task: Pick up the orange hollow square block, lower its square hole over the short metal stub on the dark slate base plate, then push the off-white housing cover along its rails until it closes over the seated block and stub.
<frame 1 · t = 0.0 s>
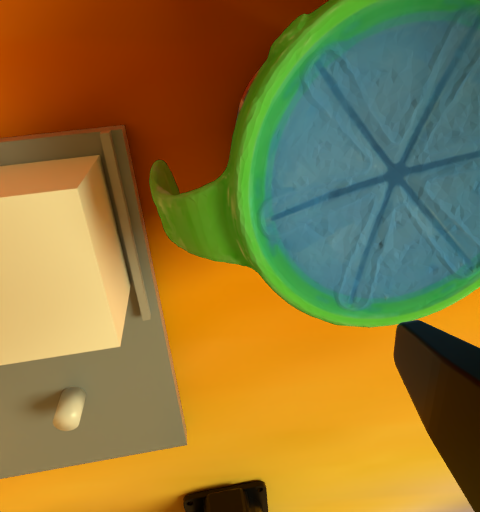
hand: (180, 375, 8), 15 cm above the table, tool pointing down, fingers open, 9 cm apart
base plate: (3, 331, 24), on the table
snack cup: (307, 124, 21), on the table
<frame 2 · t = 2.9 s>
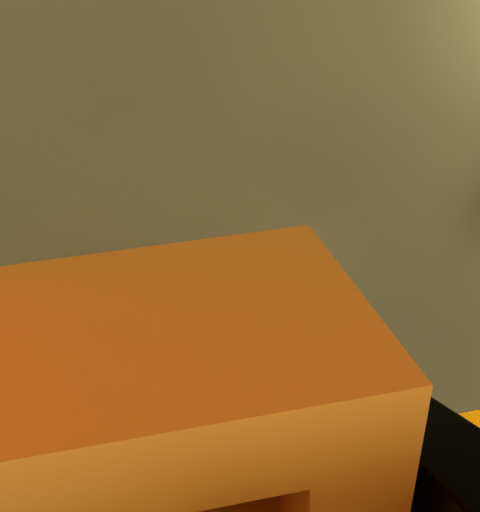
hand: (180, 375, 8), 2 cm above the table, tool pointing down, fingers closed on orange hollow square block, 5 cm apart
orange hollow square block: (180, 364, 8), point 1 cm above the table, touching base plate, gripper
when the fingers open (2 cm above the table, at t = 6.2 s): orange hollow square block stays where it is, resting on base plate.
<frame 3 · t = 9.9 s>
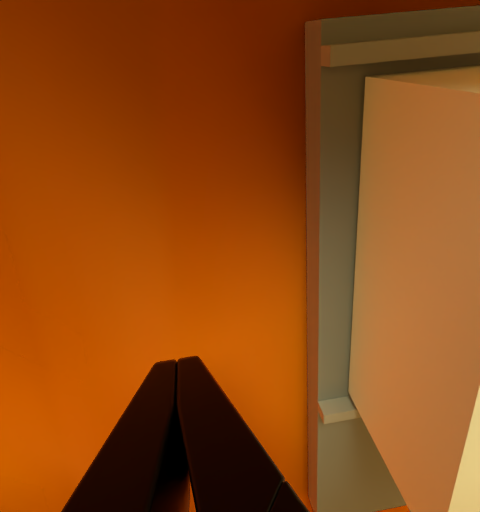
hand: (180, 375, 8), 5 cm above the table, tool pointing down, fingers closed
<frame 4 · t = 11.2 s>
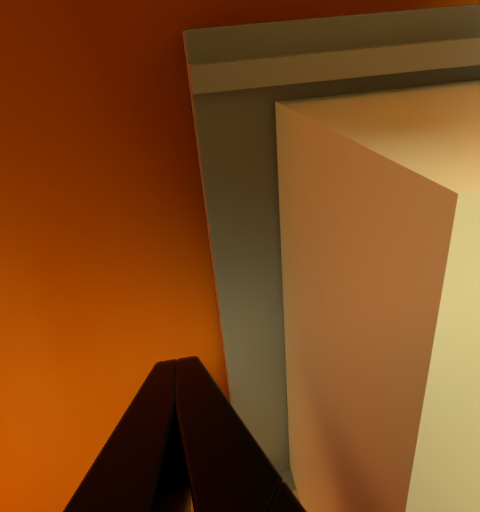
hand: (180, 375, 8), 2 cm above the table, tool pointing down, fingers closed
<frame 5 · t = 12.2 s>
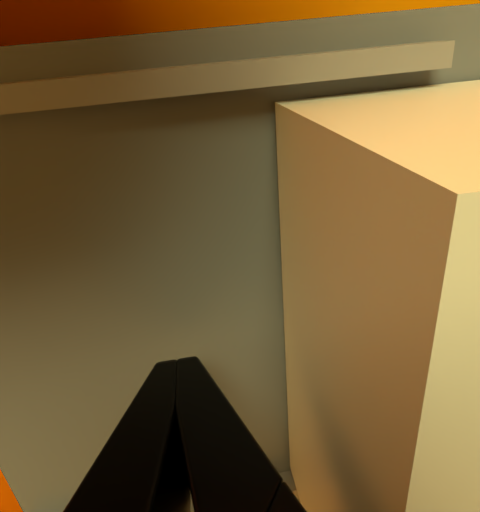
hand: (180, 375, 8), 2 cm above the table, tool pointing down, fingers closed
base plate: (388, 365, 12), on the table
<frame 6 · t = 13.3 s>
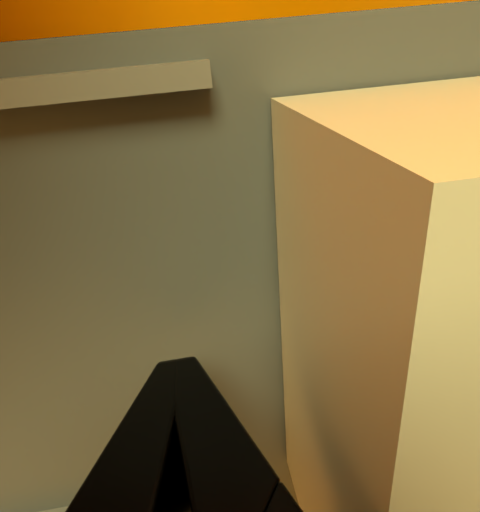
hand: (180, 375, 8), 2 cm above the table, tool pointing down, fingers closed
base plate: (256, 383, 12), on the table
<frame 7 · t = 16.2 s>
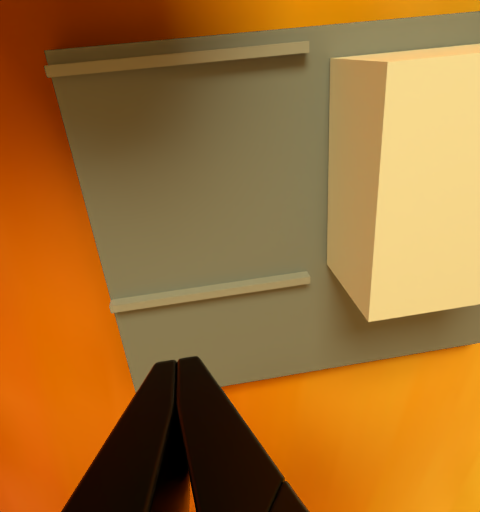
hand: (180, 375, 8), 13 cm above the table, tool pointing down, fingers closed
base plate: (309, 223, 22), on the table
housing cover: (430, 179, 17), point 4 cm above the table, slide at 10.0 cm
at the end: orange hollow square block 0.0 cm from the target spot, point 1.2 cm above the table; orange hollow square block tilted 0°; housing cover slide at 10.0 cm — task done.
